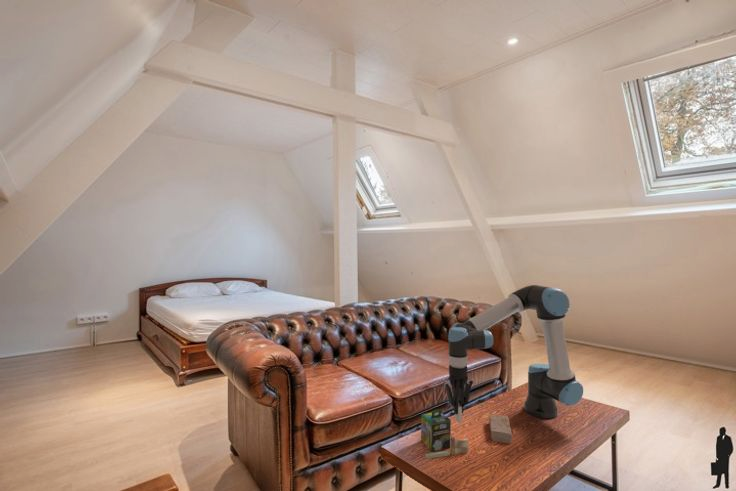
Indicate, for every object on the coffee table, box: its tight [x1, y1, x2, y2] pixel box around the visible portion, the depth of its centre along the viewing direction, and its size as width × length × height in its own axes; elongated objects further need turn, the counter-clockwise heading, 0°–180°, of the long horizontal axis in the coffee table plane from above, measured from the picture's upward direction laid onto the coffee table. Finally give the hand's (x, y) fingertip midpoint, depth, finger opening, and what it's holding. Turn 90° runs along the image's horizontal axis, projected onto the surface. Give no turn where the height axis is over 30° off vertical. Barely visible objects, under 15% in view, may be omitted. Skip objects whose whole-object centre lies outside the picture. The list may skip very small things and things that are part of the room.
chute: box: [450, 436, 469, 456], centre depth 154 cm, size 7×17×6 cm, turn 15°
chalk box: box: [420, 408, 452, 453], centre depth 152 cm, size 9×9×15 cm
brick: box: [488, 414, 513, 444], centre depth 163 cm, size 16×8×5 cm, turn 165°
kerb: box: [424, 450, 451, 459], centre depth 144 cm, size 10×1×1 cm, turn 105°
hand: (458, 420), depth 155 cm, fingers closed
